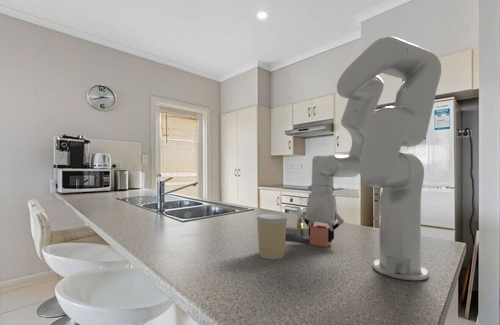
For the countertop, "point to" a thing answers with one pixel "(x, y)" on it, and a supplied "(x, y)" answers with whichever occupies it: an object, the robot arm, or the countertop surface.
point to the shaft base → (300, 238)
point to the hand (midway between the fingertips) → (320, 239)
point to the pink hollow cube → (319, 235)
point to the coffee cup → (271, 235)
